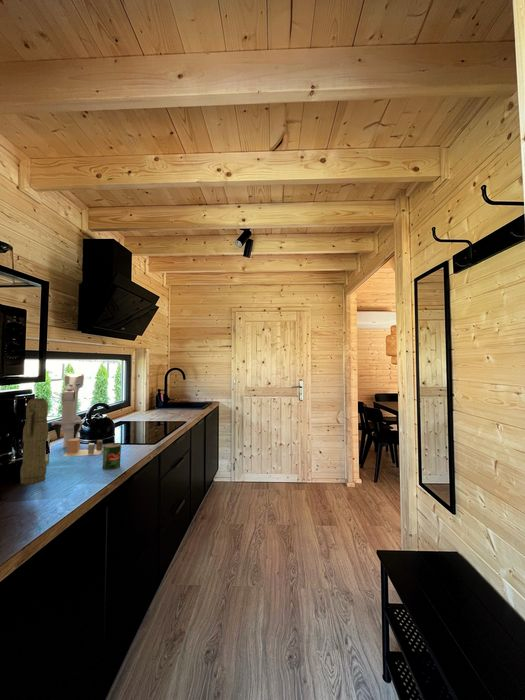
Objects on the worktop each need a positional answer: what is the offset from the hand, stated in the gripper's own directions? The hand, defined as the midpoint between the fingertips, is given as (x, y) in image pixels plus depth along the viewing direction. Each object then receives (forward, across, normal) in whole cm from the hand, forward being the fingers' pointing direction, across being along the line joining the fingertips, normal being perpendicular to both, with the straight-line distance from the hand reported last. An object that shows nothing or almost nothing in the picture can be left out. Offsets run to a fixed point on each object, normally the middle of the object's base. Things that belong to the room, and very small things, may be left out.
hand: (66, 438), depth 170 cm
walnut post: (+9, +15, +7) cm, 19 cm away
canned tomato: (+10, +26, -26) cm, 39 cm away
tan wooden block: (+9, +2, +5) cm, 11 cm away
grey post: (+9, +12, 0) cm, 15 cm away
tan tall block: (+9, -2, -38) cm, 39 cm away
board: (+10, +8, +2) cm, 13 cm away
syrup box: (+10, -8, -15) cm, 19 cm away
